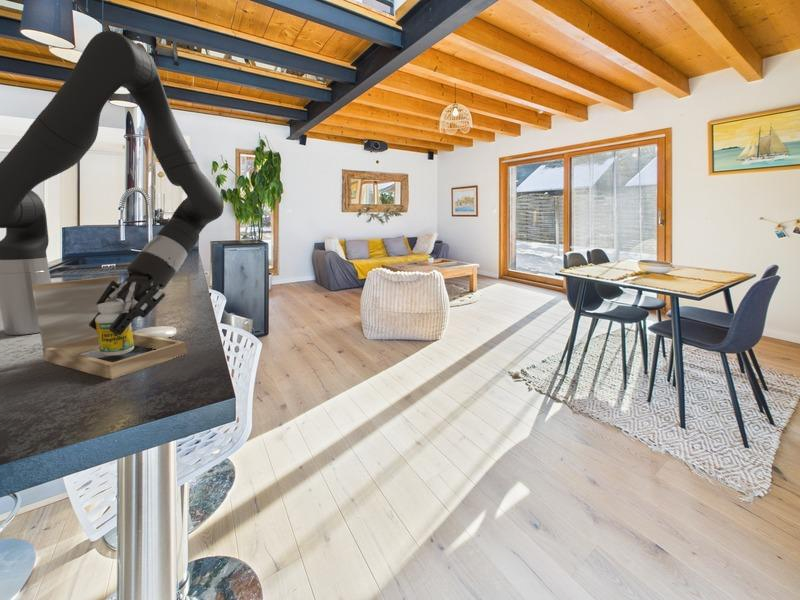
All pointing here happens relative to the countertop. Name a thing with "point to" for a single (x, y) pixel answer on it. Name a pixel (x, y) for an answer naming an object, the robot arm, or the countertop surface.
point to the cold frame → (89, 330)
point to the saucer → (158, 331)
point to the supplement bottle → (108, 339)
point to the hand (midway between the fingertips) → (104, 330)
